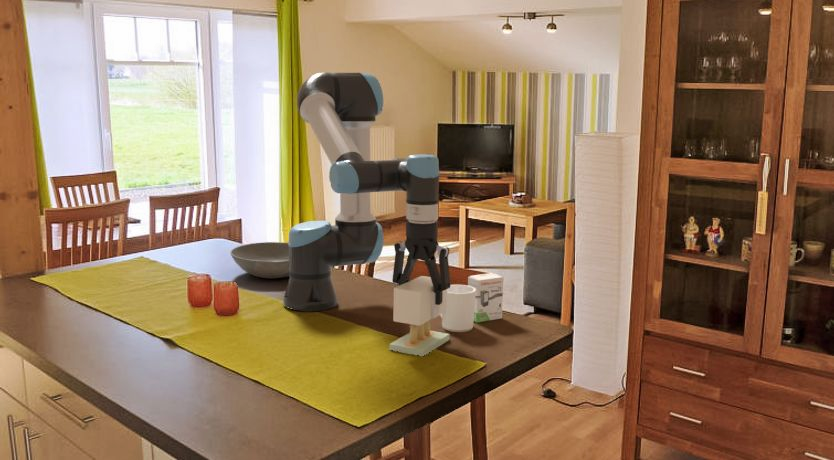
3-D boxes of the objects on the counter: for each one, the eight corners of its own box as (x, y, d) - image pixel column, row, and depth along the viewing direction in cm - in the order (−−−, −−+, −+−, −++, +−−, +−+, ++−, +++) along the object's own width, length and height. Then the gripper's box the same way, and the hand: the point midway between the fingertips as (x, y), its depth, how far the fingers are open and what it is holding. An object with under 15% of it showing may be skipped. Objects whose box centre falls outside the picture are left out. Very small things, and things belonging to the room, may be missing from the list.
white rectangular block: (419, 325, 181) (420, 292, 180) (393, 321, 185) (393, 288, 183) (446, 310, 194) (446, 279, 192) (421, 306, 197) (421, 275, 195)
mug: (478, 324, 207) (479, 286, 205) (469, 334, 199) (470, 295, 197) (438, 319, 211) (439, 282, 209) (428, 329, 202) (429, 290, 201)
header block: (389, 350, 187) (389, 323, 185) (417, 333, 199) (417, 309, 197) (423, 356, 182) (423, 329, 181) (449, 339, 195) (449, 314, 193)
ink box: (476, 323, 208) (478, 280, 206) (466, 318, 213) (467, 276, 210) (502, 318, 213) (504, 276, 211) (491, 313, 217) (493, 272, 215)
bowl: (216, 283, 245) (215, 257, 243) (250, 263, 272) (249, 239, 270) (301, 288, 240) (300, 262, 239) (326, 267, 268) (326, 243, 266)
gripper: (377, 219, 186) (376, 312, 190) (453, 227, 177) (451, 325, 181) (392, 214, 193) (392, 305, 197) (467, 222, 184) (464, 317, 188)
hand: (420, 314), depth 189 cm, fingers closed on white rectangular block, 7 cm apart
